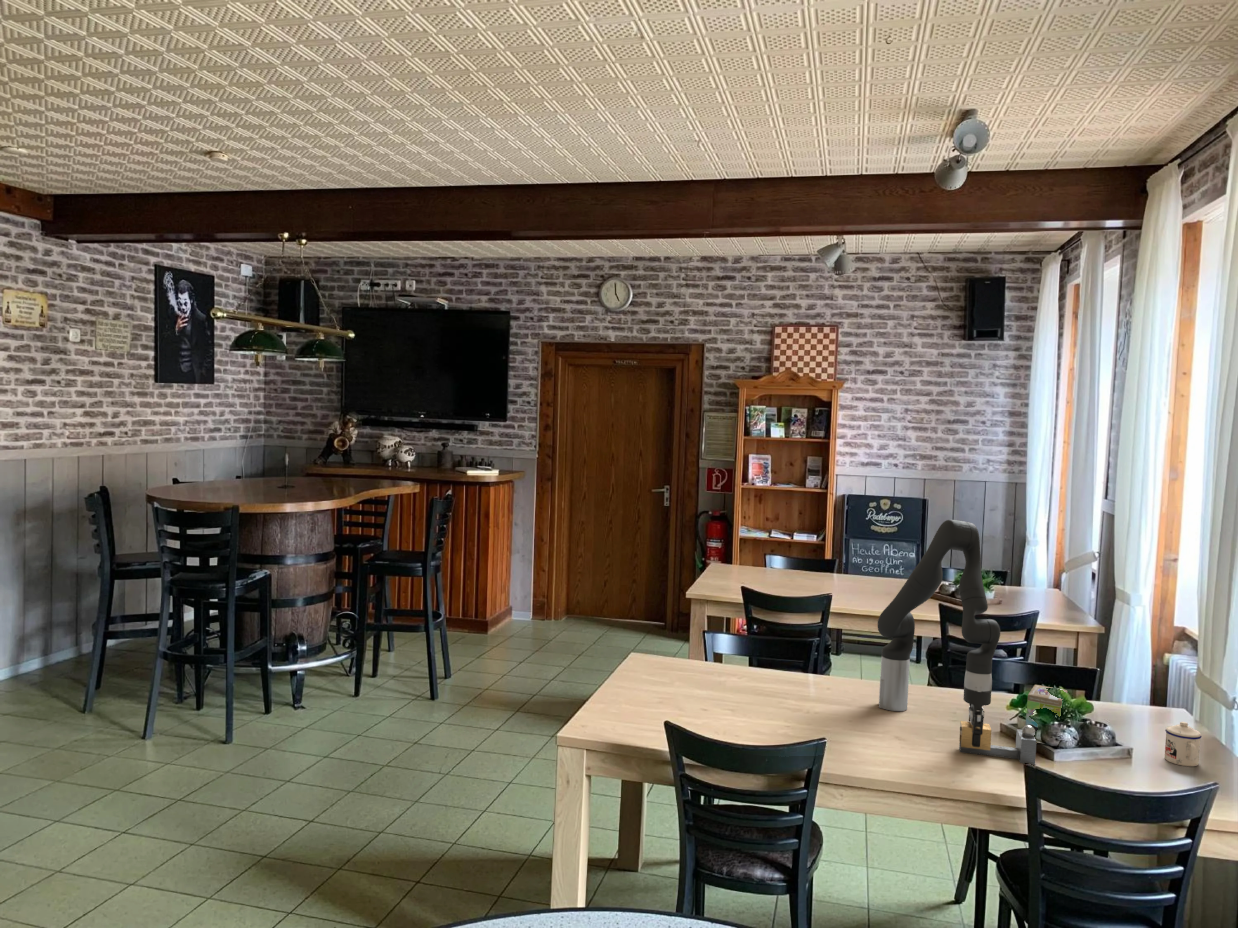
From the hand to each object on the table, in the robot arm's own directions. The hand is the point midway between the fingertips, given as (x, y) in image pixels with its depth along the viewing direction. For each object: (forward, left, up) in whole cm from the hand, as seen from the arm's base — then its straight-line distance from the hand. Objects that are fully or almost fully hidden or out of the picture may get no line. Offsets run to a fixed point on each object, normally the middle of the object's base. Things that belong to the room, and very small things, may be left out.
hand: (974, 742), depth 275 cm
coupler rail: (+6, 0, -3) cm, 7 cm away
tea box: (+23, +22, -3) cm, 32 cm away
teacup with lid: (+59, +13, -3) cm, 60 cm away
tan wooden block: (0, 0, -1) cm, 1 cm away
